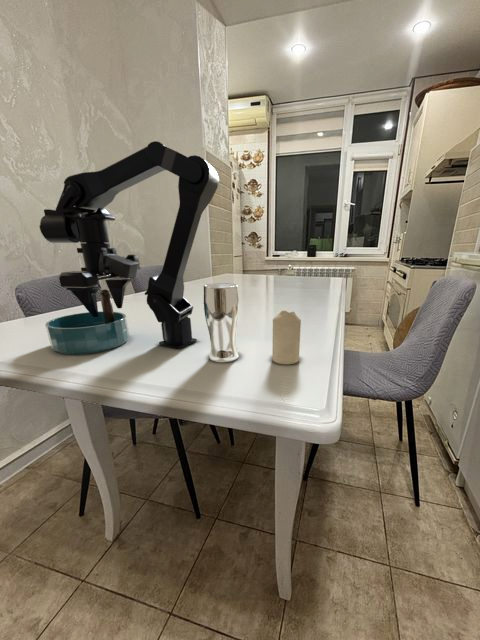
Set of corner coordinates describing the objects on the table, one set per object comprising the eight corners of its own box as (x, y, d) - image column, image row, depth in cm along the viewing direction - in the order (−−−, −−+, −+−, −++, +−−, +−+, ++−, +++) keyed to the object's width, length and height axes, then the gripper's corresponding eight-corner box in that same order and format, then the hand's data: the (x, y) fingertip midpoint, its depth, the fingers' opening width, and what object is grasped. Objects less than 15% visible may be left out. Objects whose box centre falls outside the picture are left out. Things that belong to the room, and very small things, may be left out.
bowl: (143, 339, 73) (140, 315, 71) (79, 360, 60) (72, 332, 57) (103, 330, 80) (99, 308, 78) (37, 347, 67) (30, 322, 65)
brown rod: (105, 339, 70) (96, 291, 65) (104, 336, 72) (95, 289, 68) (121, 337, 71) (112, 289, 67) (119, 333, 74) (111, 288, 70)
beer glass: (235, 364, 58) (232, 288, 52) (202, 361, 59) (196, 287, 54) (244, 352, 64) (242, 283, 59) (214, 350, 65) (210, 282, 60)
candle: (268, 356, 61) (268, 310, 58) (290, 353, 63) (292, 308, 60) (279, 366, 57) (280, 316, 53) (303, 362, 59) (306, 313, 55)
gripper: (101, 243, 54) (115, 323, 60) (150, 242, 72) (158, 305, 77) (48, 243, 56) (67, 321, 61) (108, 242, 73) (119, 304, 79)
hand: (108, 312), depth 70 cm, fingers open, 9 cm apart
